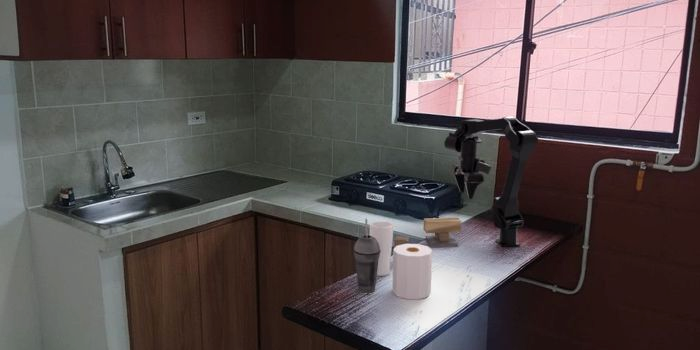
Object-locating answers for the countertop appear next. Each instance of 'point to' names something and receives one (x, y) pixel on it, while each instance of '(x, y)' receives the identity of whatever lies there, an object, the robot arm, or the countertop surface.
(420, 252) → the toilet paper
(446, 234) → the balance stand
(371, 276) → the beverage cup
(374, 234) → the drinking glass
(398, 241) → the wooden block
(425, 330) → the countertop surface
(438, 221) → the oak bar
